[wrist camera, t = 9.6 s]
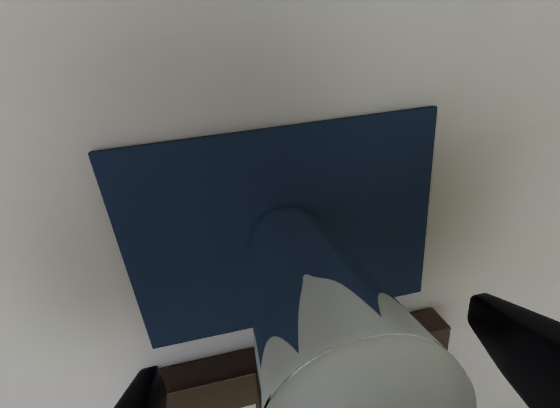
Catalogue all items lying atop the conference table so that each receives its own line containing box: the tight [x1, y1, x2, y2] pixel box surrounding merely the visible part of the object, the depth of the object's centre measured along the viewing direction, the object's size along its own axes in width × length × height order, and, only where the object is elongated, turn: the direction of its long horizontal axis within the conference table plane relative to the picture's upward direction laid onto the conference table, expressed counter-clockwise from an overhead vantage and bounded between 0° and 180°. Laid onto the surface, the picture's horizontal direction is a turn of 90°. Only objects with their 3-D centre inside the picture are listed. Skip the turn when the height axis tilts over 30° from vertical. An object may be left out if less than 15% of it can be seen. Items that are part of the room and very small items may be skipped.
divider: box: [160, 308, 451, 408], centre depth 17 cm, size 2×15×2 cm, turn 95°
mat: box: [88, 106, 437, 349], centre depth 14 cm, size 9×13×1 cm
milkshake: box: [248, 206, 476, 408], centre depth 10 cm, size 4×5×10 cm
